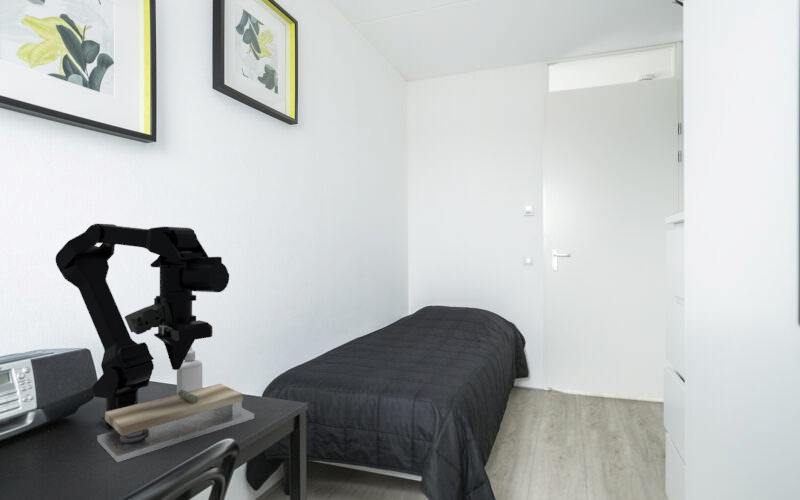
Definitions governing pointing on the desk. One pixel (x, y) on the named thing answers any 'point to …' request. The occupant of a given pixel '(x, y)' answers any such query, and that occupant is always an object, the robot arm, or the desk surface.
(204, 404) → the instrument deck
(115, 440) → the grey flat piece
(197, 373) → the eye dropper bottle
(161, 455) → the desk surface
